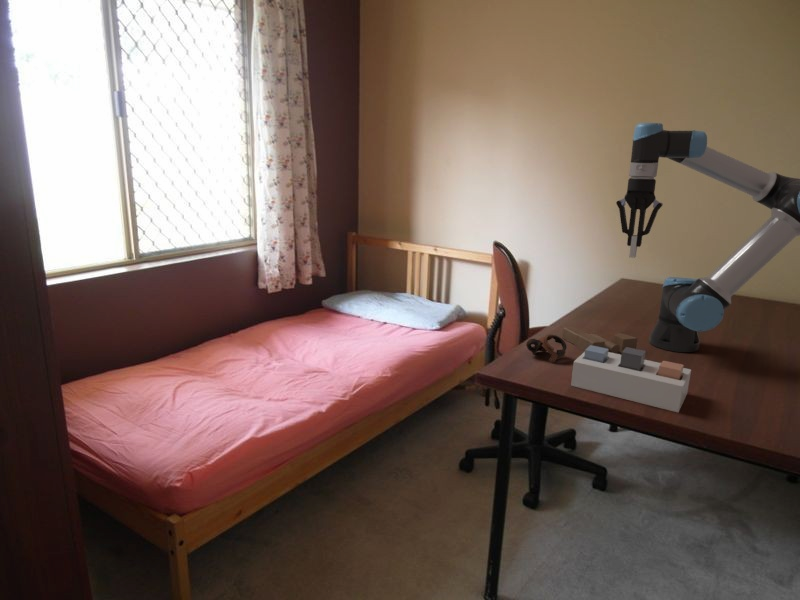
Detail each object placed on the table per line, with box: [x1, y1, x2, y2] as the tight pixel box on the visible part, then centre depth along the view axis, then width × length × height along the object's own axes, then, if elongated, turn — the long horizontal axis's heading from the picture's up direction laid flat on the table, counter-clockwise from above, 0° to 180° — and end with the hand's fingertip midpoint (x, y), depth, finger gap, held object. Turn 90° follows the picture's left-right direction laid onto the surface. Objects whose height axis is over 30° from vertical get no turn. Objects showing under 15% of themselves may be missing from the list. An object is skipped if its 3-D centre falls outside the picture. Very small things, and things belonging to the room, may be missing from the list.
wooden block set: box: [562, 326, 639, 354], centre depth 189 cm, size 17×6×18 cm
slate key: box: [584, 345, 609, 363], centre depth 158 cm, size 5×5×5 cm
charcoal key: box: [620, 347, 647, 371], centre depth 152 cm, size 5×5×5 cm
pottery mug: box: [525, 333, 567, 363], centre depth 176 cm, size 12×10×8 cm
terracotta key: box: [658, 360, 685, 380], centre depth 147 cm, size 5×5×5 cm
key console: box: [570, 351, 692, 413], centre depth 153 cm, size 27×14×7 cm, turn 56°
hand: (632, 256), depth 174 cm, fingers closed
